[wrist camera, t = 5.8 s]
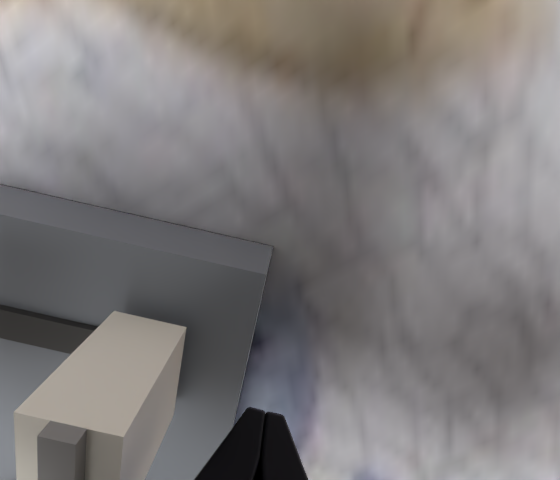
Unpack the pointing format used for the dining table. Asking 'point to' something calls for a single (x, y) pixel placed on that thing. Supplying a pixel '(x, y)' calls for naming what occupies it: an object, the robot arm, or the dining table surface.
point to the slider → (103, 404)
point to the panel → (126, 310)
